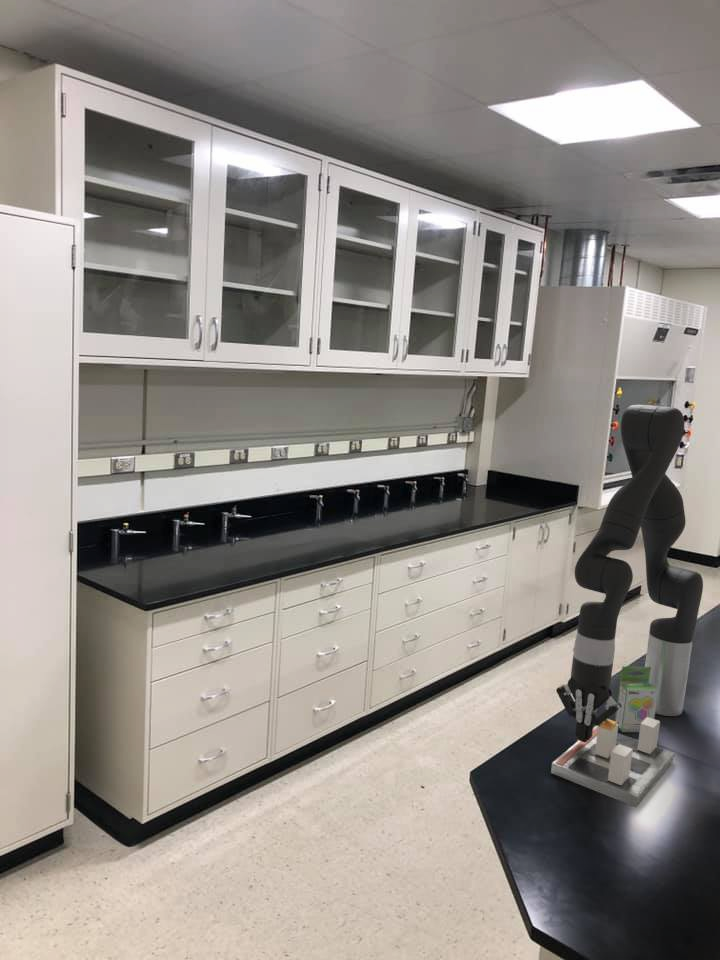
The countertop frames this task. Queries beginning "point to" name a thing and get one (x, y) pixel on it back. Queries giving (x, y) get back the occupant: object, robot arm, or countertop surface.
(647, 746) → the block
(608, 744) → the block
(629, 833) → the countertop surface
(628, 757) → the breaker near
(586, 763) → the panel
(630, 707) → the ink box
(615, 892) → the countertop surface
